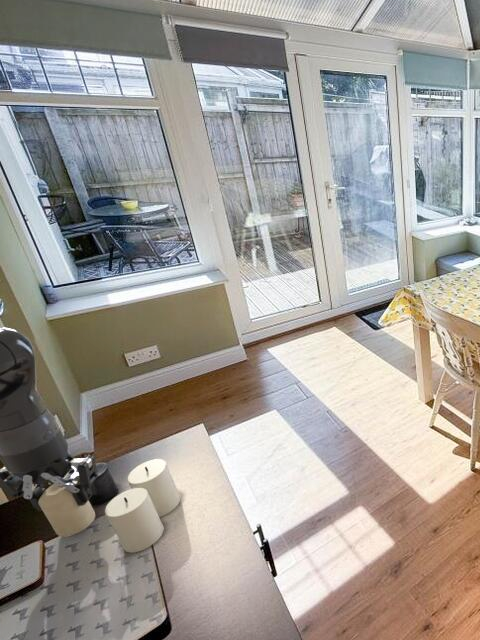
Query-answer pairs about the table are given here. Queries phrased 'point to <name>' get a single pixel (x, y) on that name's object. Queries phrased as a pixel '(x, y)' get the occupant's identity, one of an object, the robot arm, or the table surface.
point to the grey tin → (102, 486)
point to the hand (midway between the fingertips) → (65, 504)
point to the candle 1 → (65, 511)
